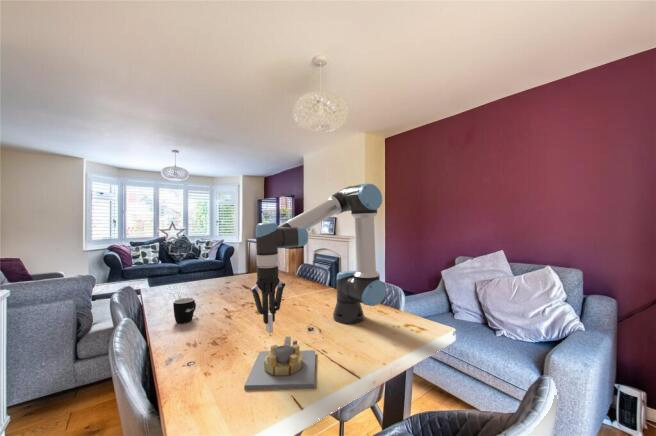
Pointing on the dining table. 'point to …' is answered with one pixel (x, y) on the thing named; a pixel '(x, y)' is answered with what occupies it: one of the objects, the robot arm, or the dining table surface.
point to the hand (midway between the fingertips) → (269, 331)
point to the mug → (184, 310)
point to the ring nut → (284, 368)
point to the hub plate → (296, 380)
